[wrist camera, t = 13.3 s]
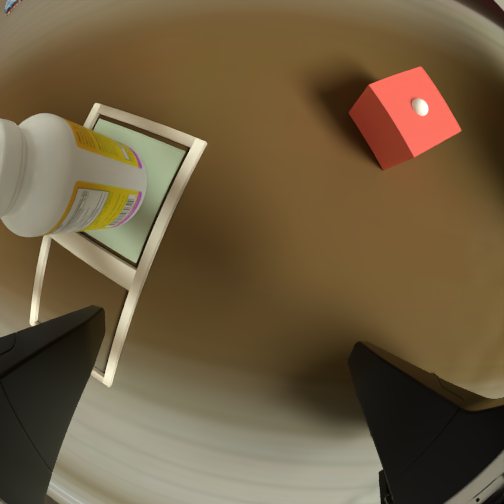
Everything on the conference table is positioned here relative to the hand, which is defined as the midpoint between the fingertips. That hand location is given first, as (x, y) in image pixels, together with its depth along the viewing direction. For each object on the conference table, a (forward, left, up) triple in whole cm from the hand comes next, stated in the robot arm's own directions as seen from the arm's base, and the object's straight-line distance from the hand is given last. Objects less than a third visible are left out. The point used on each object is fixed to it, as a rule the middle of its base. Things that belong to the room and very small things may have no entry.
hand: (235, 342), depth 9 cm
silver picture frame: (+4, +13, -11) cm, 18 cm away
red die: (+9, -12, -11) cm, 19 cm away
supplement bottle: (+9, +10, -11) cm, 17 cm away
